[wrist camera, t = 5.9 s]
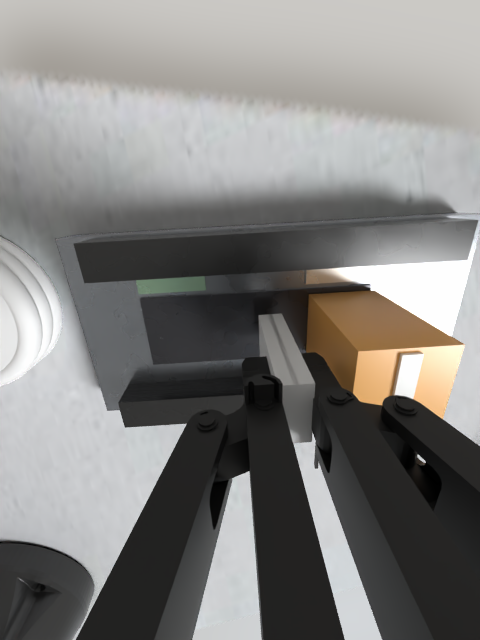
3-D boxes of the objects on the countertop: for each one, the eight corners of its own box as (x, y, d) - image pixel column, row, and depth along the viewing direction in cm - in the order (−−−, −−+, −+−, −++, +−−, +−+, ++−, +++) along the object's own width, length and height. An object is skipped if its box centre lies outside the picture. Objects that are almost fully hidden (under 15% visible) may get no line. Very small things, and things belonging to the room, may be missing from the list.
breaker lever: (306, 352, 18) (349, 435, 12) (308, 294, 17) (360, 353, 10) (366, 348, 18) (442, 429, 12) (374, 290, 17) (468, 346, 10)
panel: (117, 393, 22) (94, 431, 18) (73, 235, 17) (31, 243, 13) (419, 373, 22) (457, 407, 18) (457, 212, 17) (519, 215, 14)
